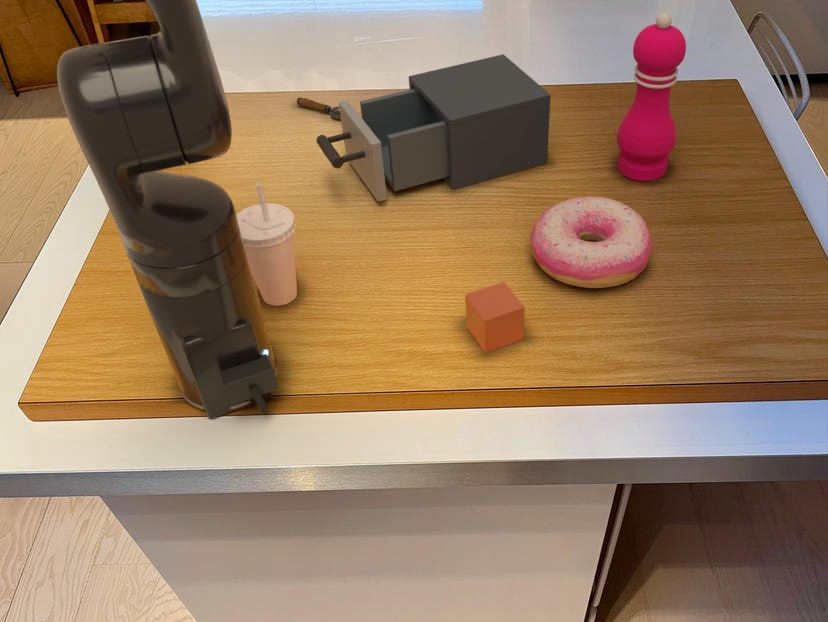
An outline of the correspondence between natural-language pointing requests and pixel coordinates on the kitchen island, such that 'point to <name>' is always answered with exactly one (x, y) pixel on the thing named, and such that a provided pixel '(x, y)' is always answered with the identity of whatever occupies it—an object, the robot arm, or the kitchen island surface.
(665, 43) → the pepper mill
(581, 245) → the donut
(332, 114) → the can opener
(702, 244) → the kitchen island surface
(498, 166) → the cabinet
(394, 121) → the drawer
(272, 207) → the smoothie
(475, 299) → the block
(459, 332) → the kitchen island surface
